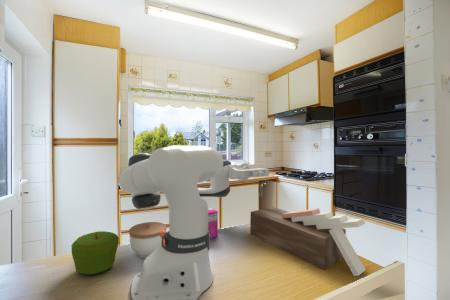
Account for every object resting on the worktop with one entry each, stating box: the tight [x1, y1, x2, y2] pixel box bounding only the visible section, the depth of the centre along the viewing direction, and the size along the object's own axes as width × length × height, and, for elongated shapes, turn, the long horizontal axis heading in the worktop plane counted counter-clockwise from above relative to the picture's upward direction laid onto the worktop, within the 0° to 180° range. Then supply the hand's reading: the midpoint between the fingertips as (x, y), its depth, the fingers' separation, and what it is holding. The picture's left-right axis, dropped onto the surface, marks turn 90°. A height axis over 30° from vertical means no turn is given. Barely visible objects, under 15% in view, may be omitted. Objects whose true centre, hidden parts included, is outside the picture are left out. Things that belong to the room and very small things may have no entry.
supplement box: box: [208, 207, 219, 241], centre depth 95 cm, size 6×6×12 cm
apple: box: [71, 230, 120, 275], centre depth 69 cm, size 12×12×11 cm
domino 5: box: [329, 228, 366, 277], centre depth 72 cm, size 5×2×14 cm
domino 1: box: [281, 208, 321, 218], centre depth 86 cm, size 5×2×14 cm
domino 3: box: [303, 214, 349, 226], centre depth 78 cm, size 5×2×14 cm
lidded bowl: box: [128, 221, 167, 259], centre depth 80 cm, size 13×13×11 cm
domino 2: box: [291, 211, 334, 222], centre depth 82 cm, size 5×2×14 cm
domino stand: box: [249, 206, 347, 271], centre depth 88 cm, size 14×34×10 cm, turn 37°
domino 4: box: [316, 218, 366, 229], centre depth 74 cm, size 5×2×14 cm
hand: (262, 174), depth 102 cm, fingers closed
